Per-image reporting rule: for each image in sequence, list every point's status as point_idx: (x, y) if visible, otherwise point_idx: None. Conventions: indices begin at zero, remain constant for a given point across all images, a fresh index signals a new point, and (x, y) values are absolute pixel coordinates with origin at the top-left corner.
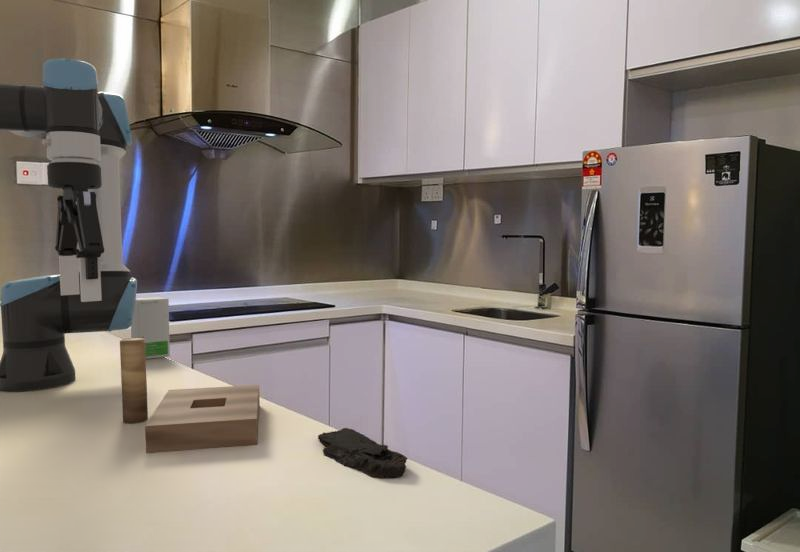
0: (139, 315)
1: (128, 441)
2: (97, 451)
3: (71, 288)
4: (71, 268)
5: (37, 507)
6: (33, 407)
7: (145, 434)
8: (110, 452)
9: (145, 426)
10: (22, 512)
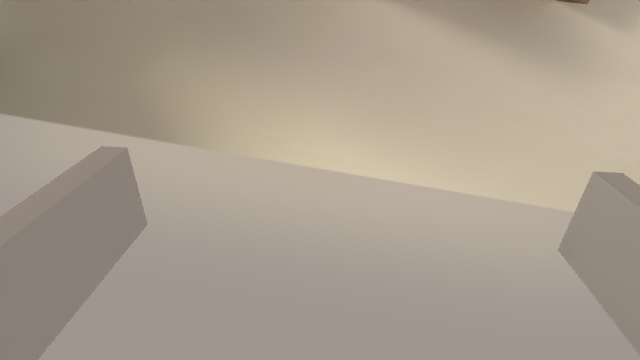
0: None
1: (457, 3)
2: (465, 69)
3: (115, 203)
4: (19, 292)
5: None
6: (80, 85)
7: (575, 2)
8: (490, 53)
9: (586, 2)
10: None
